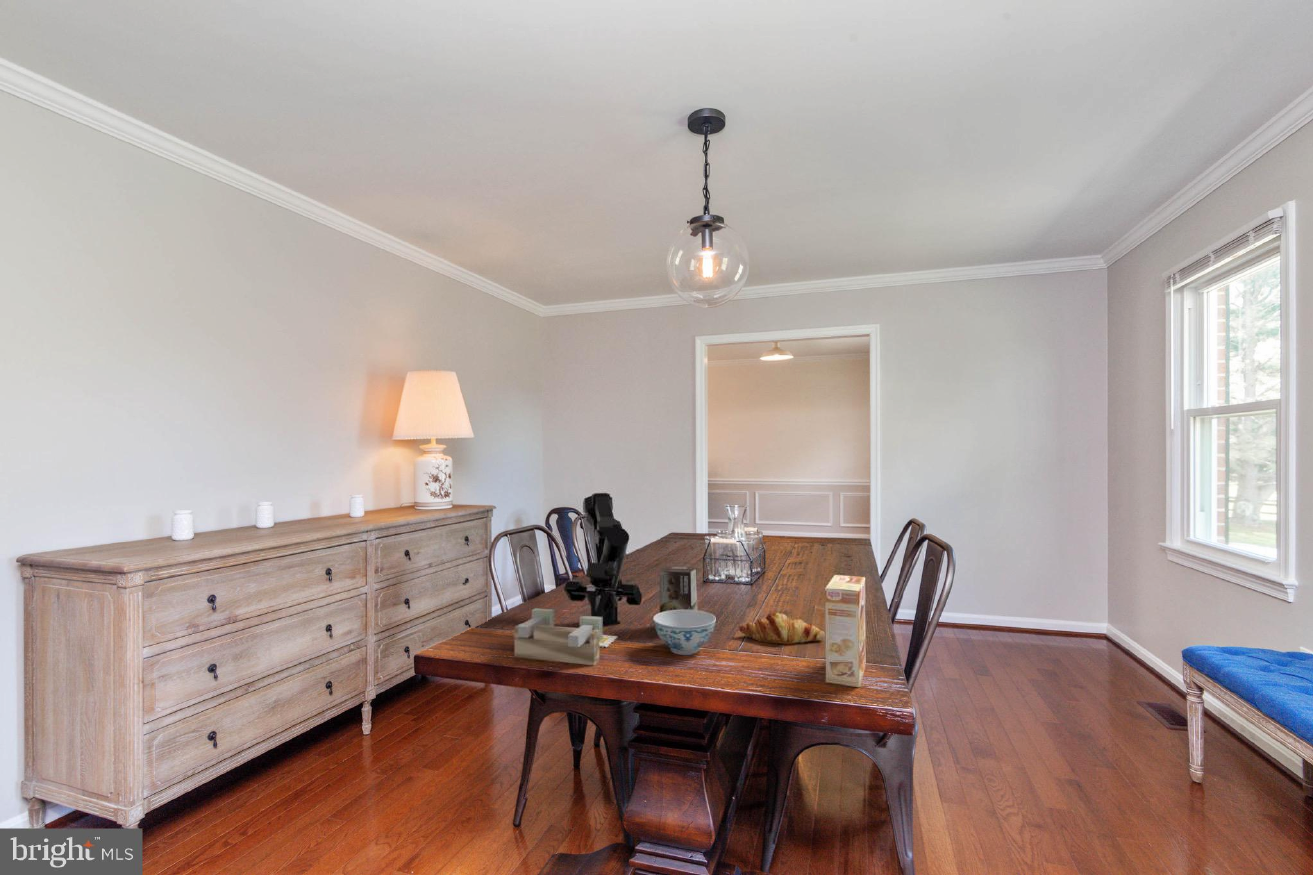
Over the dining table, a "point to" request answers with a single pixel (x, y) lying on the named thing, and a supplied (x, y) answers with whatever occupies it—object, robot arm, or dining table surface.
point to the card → (606, 640)
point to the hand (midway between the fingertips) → (593, 623)
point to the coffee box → (678, 588)
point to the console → (556, 646)
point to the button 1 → (536, 621)
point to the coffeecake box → (845, 630)
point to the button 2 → (585, 630)
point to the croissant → (781, 630)
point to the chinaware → (684, 629)
